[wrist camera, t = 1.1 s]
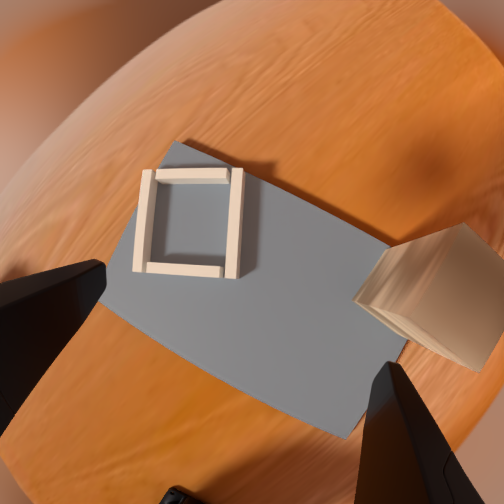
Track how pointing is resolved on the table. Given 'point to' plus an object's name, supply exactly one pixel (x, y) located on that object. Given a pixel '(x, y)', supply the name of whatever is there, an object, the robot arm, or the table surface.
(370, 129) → the table surface
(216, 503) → the table surface
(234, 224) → the socket
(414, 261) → the birch pillar
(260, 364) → the plate
